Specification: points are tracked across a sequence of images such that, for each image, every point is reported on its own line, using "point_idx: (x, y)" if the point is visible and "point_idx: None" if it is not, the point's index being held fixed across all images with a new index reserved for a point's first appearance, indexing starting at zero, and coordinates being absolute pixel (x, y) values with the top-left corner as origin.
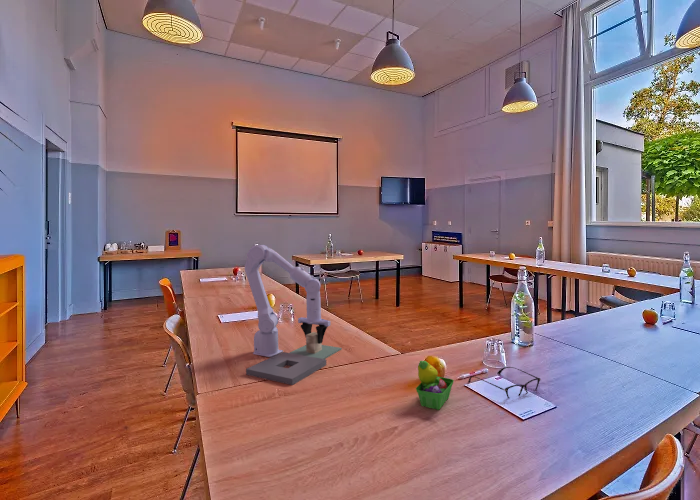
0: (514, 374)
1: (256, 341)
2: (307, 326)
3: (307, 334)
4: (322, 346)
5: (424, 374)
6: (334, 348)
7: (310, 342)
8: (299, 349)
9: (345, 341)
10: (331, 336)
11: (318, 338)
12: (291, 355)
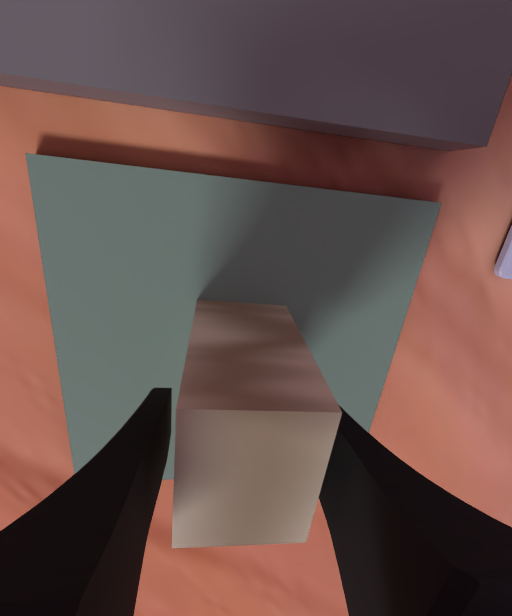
0: None
1: None
2: (405, 607)
3: (330, 440)
4: None
5: None
6: None
7: (246, 350)
8: (373, 342)
9: (158, 576)
10: (286, 599)
11: (144, 423)
12: (350, 49)
